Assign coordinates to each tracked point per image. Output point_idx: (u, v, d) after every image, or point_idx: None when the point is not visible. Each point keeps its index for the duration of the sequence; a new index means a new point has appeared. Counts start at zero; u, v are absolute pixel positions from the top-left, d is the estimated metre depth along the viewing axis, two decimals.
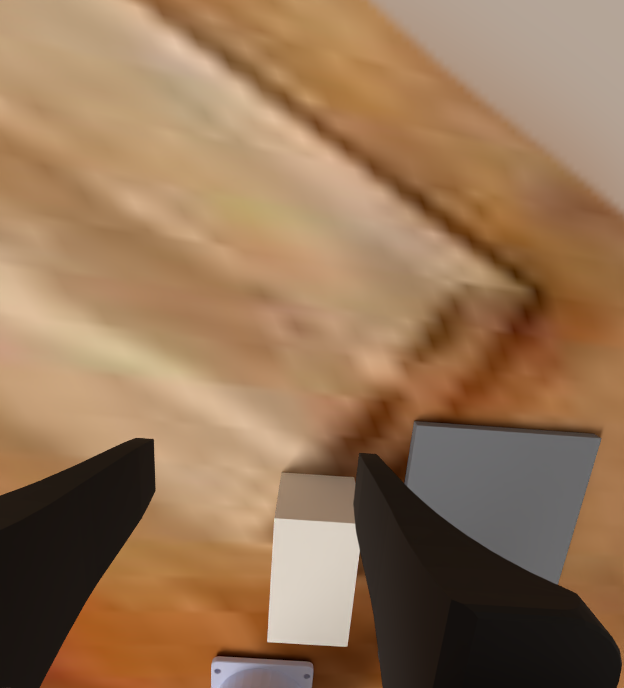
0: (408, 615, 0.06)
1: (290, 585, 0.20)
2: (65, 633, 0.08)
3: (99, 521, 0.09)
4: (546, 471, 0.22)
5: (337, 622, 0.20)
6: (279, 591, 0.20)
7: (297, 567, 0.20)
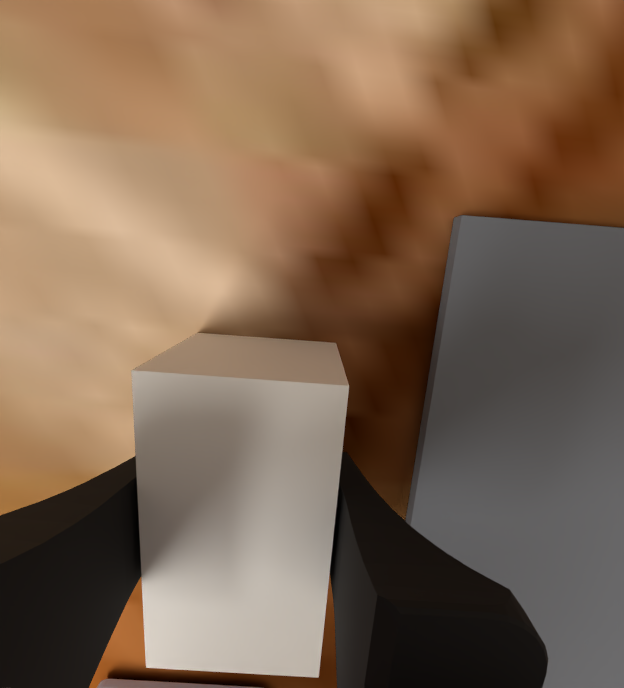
0: (353, 612, 0.06)
1: (185, 541, 0.09)
2: (108, 635, 0.08)
3: (138, 523, 0.09)
4: None
5: (295, 625, 0.09)
6: (162, 554, 0.09)
7: (197, 497, 0.08)
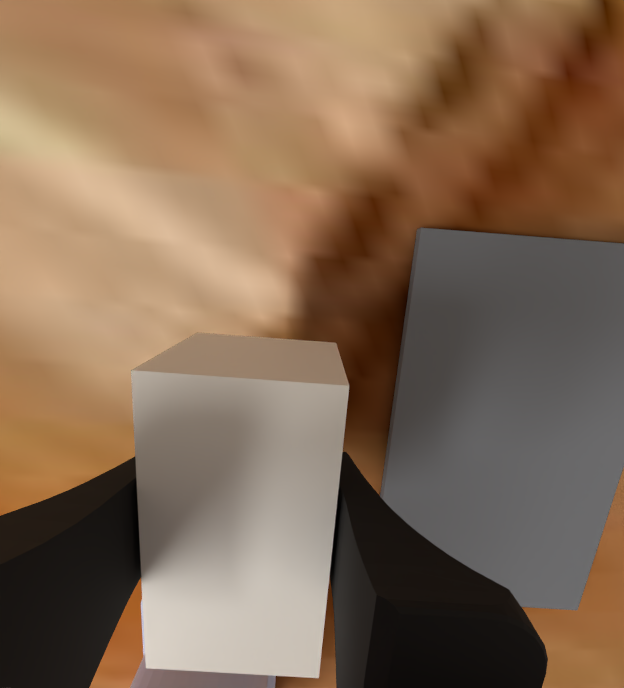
0: (352, 612, 0.06)
1: (185, 542, 0.09)
2: (109, 635, 0.08)
3: (138, 523, 0.09)
4: (610, 304, 0.15)
5: (295, 625, 0.09)
6: (161, 554, 0.09)
7: (197, 498, 0.08)
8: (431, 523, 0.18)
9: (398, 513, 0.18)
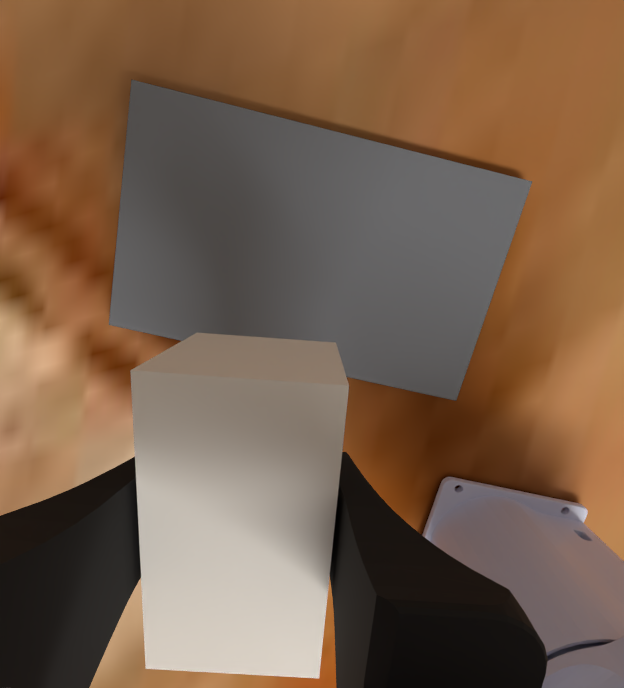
0: (352, 611, 0.06)
1: (185, 542, 0.09)
2: (109, 635, 0.08)
3: None
4: (178, 160, 0.17)
5: (295, 626, 0.09)
6: (161, 555, 0.09)
7: (197, 498, 0.08)
8: (383, 336, 0.19)
9: (366, 364, 0.19)
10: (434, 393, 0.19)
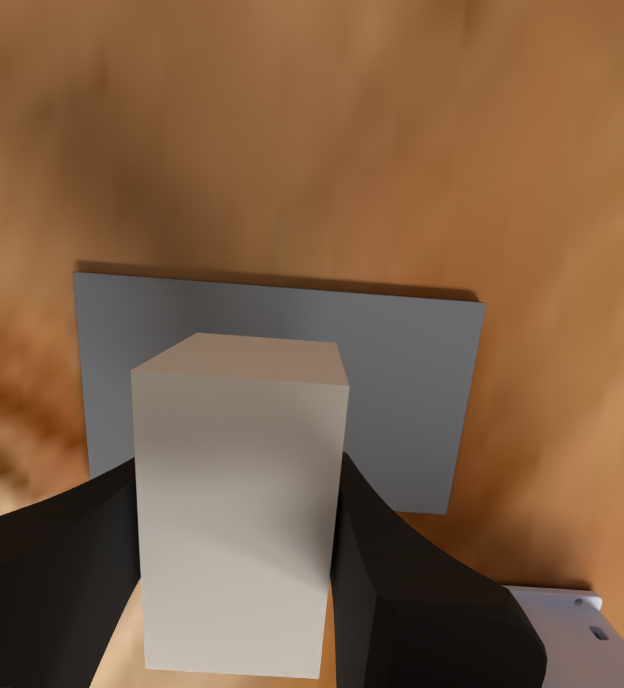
0: (352, 612, 0.06)
1: (185, 542, 0.09)
2: (109, 635, 0.08)
3: None
4: (130, 336, 0.17)
5: (295, 626, 0.09)
6: (161, 555, 0.09)
7: (196, 498, 0.08)
8: (361, 465, 0.18)
9: None
10: (422, 510, 0.19)
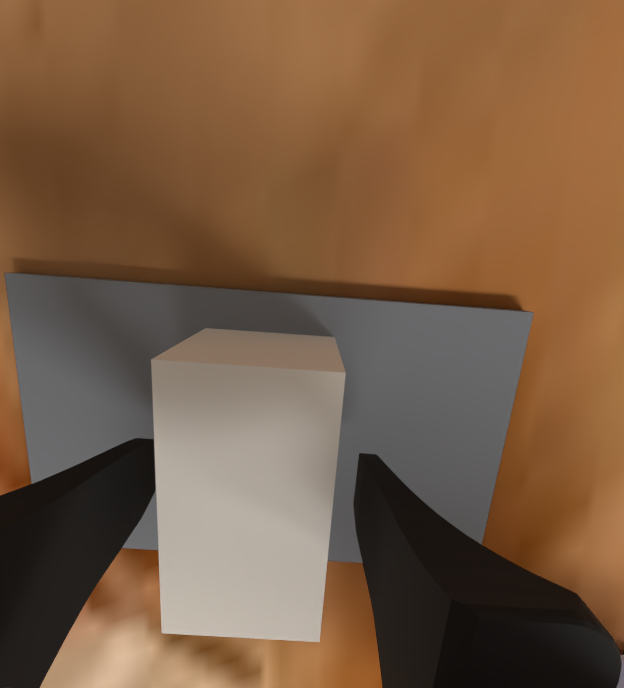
0: (408, 615, 0.06)
1: (199, 515, 0.10)
2: (65, 633, 0.08)
3: (99, 521, 0.09)
4: (81, 354, 0.13)
5: (298, 593, 0.10)
6: (177, 527, 0.10)
7: (209, 475, 0.09)
8: None
9: (356, 545, 0.15)
10: None
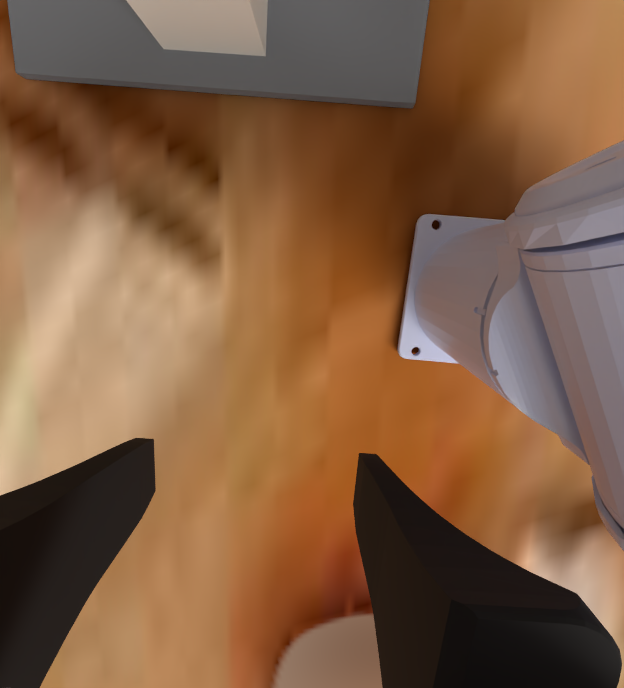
0: (408, 615, 0.06)
1: None
2: (65, 633, 0.08)
3: (99, 521, 0.09)
4: None
5: None
6: None
7: None
8: (316, 28, 0.16)
9: (302, 72, 0.16)
10: (388, 97, 0.16)
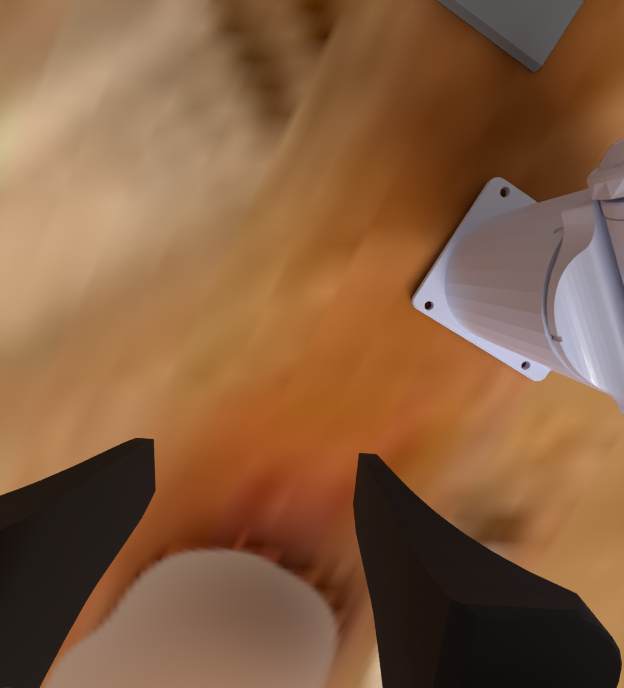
0: (408, 615, 0.06)
1: None
2: (65, 633, 0.08)
3: (99, 521, 0.09)
4: None
5: None
6: None
7: None
8: None
9: None
10: (522, 47, 0.16)
